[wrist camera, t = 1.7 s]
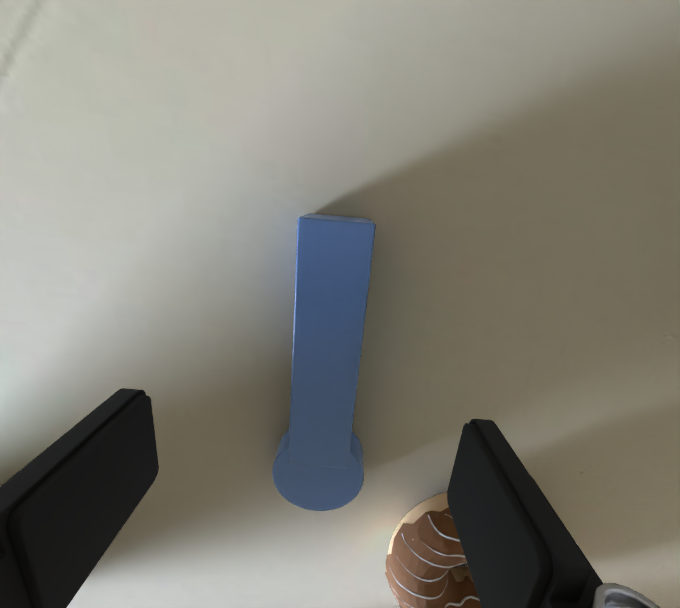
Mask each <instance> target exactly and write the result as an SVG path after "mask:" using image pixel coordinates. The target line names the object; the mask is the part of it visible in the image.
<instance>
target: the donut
mask: <svg viewBox="0 0 680 608" xmlns="http://www.w3.org/2000/svg"><path fill="white" fill-rule="evenodd" d="M464 563H467V561H466V558H465V555H464V552H463V549H462V546H461V543H460V540H459V537H458V534H457V531H456V528H455V525H454V522H453V519H452V516H451V513H450V510H449V506H448V502H447V492H446V493H442V494H438V495H436V496H433V497H431V498H429V499H427V500H425V501H423V502H421V503H420V504H418V505H417V506H415V507H414V508H413V509H412V510H410V511H409V512H408V513H407V514H406V515H405V516H404V518H403V519H402V520H401V522H400V523H399V525H398V526H397V528H396V529H395V531H394V534H393V536H392V539H391V542H390V544H389V551H388V555H387V559H386V571H387V572H386V573H385V574H386V577H387V580H388V582H389V585H390V588H391V590H392V592H393V594H394V596H395V599H396V600H397V602H398V604H399V605H400V607H401V608H482V607H481V604H480V601H479V598H478V595H477V592H476V589H475V585H474V582H473V579H472V576H471V573H470V570H469V567H468V566H458V565H461V564H464Z"/></svg>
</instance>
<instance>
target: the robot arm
mask: <svg viewBox="0 0 680 608" xmlns="http://www.w3.org/2000/svg"><path fill="white" fill-rule="evenodd" d="M158 469H159V465H158V457H157V448H156V440H155V431H154V423H153V414H152V405H151V399H150V397H149V396H147V395H146V393H145V392H144V391H143V390H137V389H125V388H123V389H120V390H118V391H117V392H115V393H114V394H113V395H112V396H111V397H109V398H108V399H107V400H106V401H104V402H103V403H102V404H101V405H100V406H98V407H97V408H96V409H95V410H93V411H92V412H91V413H90V414H89V415H87V416H86V417H85V418H84V419H82V420H81V421H80V422H79V423H78V424H76V425H75V426H74V427H73V428H71V429H70V430H69V431H68V432H67V433H65V434H64V435H63V436H62V437H60V438H59V439H58V440H57V441H56V442H54V443H53V444H52V445H51V446H49V447H48V448H47V449H46V450H45V451H43V452H42V453H41V454H40V455H38V456H37V457H36V458H35V459H34V460H32V461H31V462H30V463H29V464H27V465H26V466H25V467H24V468H23V469H21V470H20V471H19V472H18V473H16V474H15V475H14V476H13V477H12V478H10V479H9V480H8V481H7V482H5V483H4V484H3V485H2V486H1V487H0V608H66V607H67V606H68V605H69V603H70V602H71V600H72V599H73V597H74V596H75V594H76V593H77V592H78V590H79V589H80V587H81V586H82V584H83V583H84V581H85V580H86V579H87V577H88V576H89V574H90V573H91V571H92V570H93V569H94V567H95V566H96V564H97V563H98V561H99V560H100V558H101V557H102V556H103V554H104V553H105V551H106V550H107V548H108V547H109V546H110V544H111V543H112V541H113V540H114V538H115V537H116V535H117V534H118V533H119V531H120V530H121V528H122V527H123V525H124V524H125V522H126V521H127V520H128V518H129V517H130V515H131V514H132V512H133V511H134V510H135V508H136V507H137V505H138V504H139V502H140V501H141V499H142V498H143V497H144V495H145V494H146V492H147V491H148V489H149V488H150V486H151V485H152V484H153V482H154V481H155V479H156V477H157V474H158ZM447 502H448V506H449V510H450V513H451V516H452V519H453V522H454V525H455V528H456V531H457V534H458V537H459V540H460V543H461V546H462V549H463V552H464V555H465V558H466V561H467V564H468V567H469V570H470V573H471V576H472V579H473V582H474V585H475V589H476V592H477V595H478V598H479V601H480V604H481V607H482V608H660V607H659V606H658V605H656V604H655V603H653V602H652V601H651V600H649V599H648V598H647V597H645V596H644V595H642V594H640V593H638V592H636V591H634V590H633V589H631V588H629V587H626V586H623V585H619V584H616V583H604V584H603V582H602V581H601V579H600V578H599V576H598V575H597V573H596V572H595V570H594V569H593V567H592V566H591V564H590V563H589V561H588V560H587V558H586V557H585V555H584V554H583V552H582V551H581V549H580V548H579V546H578V545H577V543H576V542H575V540H574V539H573V538H572V536H571V535H570V533H569V532H568V530H567V529H566V527H565V526H564V524H563V523H562V521H561V520H560V518H559V517H558V515H557V514H556V512H555V511H554V509H553V508H552V506H551V505H550V503H549V502H548V500H547V499H546V497H545V496H544V494H543V493H542V491H541V490H540V488H539V487H538V485H537V484H536V482H535V481H534V479H533V478H532V477H531V476H530V475H529V473H528V472H527V470H526V469H525V467H524V466H523V464H522V463H521V461H520V460H519V458H518V457H517V455H516V454H515V452H514V451H513V449H512V448H511V446H510V445H509V443H508V442H507V440H506V439H505V437H504V436H503V434H502V433H501V431H500V430H499V428H498V427H497V425H496V424H495V423H494V421H492V420H482V419H471V421H470V422H469V423H466V424H464V426H463V430H462V434H461V438H460V442H459V446H458V450H457V455H456V459H455V463H454V467H453V471H452V475H451V479H450V483H449V487H448V491H447Z"/></svg>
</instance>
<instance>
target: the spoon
mask: <svg viewBox="0 0 680 608" xmlns="http://www.w3.org/2000/svg"><path fill="white" fill-rule="evenodd" d="M375 228H376V225H375V223H374V222H373V221H372V220H371V219H367V218H356V217H344V216H333V215H322V214H311V213H310V214H307V215H304V216H301V217H299V218H298V228H297V253H296V278H295V303H294V328H293V352H292V377H291V402H290V427H289V430H288V431H287V432H286V433H285V434H284V435H283V437H282V439H281V441H280V444H279V447H278V451H277V454H276V458H275V461H274V465H273V470H272V476H273V481H274V484H275V486H276V488H277V490H278V491H279V493H280V494H281V495H282V496H283V497H284V498H285V499H286V500H288V501H289V502H291V503H292V504H294V505H296V506H298V507H301V508H304V509H308V510H314V511H327V510H333V509H337V508H340V507H342V506H344V505H346V504H348V503H349V502H351V501H352V500H353V499H354V498H355V497H356V496H357V495H358V493H359V491H360V490H361V487H362V485H363V480H364V470H363V451H362V447H361V444H360V442H359V440H358V438H357V437H356V435H355V434H354V433H353V432H352V425H353V416H354V408H355V399H356V390H357V382H358V373H359V365H360V356H361V348H362V339H363V331H364V322H365V313H366V305H367V296H368V288H369V279H370V271H371V262H372V253H373V245H374V236H375Z"/></svg>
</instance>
